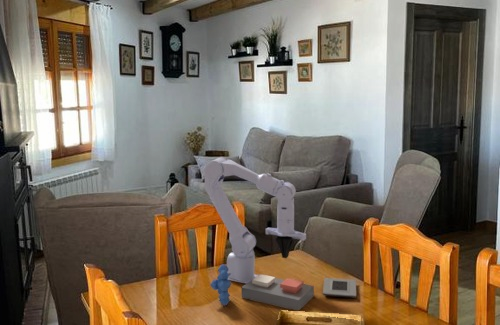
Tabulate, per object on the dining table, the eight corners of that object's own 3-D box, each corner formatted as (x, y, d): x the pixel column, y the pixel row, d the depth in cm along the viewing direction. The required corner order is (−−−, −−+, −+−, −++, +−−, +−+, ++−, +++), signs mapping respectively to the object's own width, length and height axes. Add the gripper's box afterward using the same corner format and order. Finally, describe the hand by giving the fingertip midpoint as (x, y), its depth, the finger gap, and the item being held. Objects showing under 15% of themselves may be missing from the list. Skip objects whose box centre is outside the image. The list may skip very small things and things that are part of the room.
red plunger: (280, 299, 157) (280, 284, 156) (287, 293, 162) (287, 277, 161) (296, 303, 154) (296, 287, 154) (303, 296, 159) (303, 281, 158)
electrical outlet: (356, 301, 158) (356, 294, 157) (322, 299, 160) (322, 292, 159) (355, 285, 170) (355, 279, 170) (324, 283, 172) (324, 277, 172)
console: (241, 297, 160) (241, 287, 160) (259, 284, 171) (259, 274, 170) (298, 310, 151) (298, 300, 150) (313, 296, 161) (313, 285, 161)
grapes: (210, 294, 163) (209, 259, 161) (230, 294, 163) (230, 259, 161) (210, 310, 151) (209, 273, 149) (232, 309, 152) (232, 272, 150)
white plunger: (252, 295, 162) (252, 279, 161) (260, 288, 167) (260, 274, 166) (267, 298, 159) (267, 283, 159) (275, 292, 164) (275, 277, 163)
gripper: (261, 218, 169) (261, 256, 171) (300, 224, 161) (299, 264, 163) (271, 213, 175) (270, 250, 177) (309, 219, 167) (308, 258, 169)
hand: (285, 257), depth 170 cm, fingers closed
